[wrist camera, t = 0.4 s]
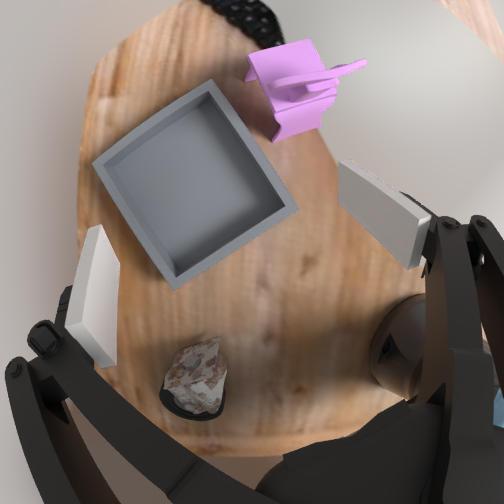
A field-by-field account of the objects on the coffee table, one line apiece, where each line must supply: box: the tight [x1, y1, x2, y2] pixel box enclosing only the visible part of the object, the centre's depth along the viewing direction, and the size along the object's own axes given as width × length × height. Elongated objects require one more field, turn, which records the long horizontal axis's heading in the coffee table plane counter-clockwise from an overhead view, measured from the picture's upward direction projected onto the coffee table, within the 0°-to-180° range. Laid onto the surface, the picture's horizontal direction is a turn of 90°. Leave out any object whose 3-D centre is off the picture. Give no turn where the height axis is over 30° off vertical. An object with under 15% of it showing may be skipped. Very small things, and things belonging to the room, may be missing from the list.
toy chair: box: [244, 39, 366, 143], centre depth 23 cm, size 8×9×15 cm
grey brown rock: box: [159, 336, 228, 421], centre depth 34 cm, size 7×11×10 cm
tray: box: [92, 79, 299, 291], centre depth 30 cm, size 16×15×4 cm
